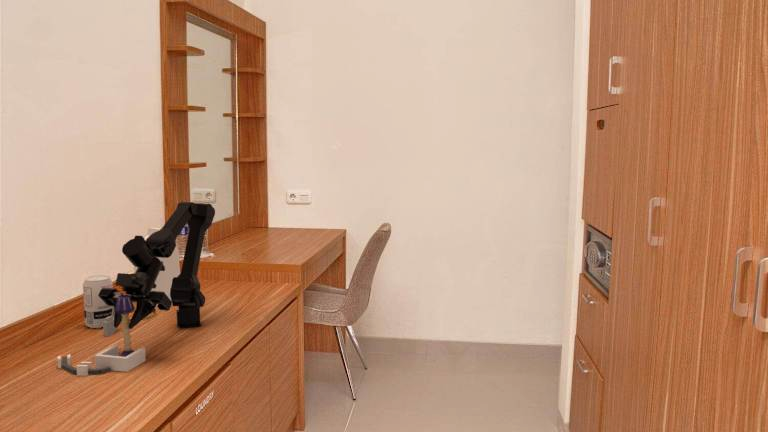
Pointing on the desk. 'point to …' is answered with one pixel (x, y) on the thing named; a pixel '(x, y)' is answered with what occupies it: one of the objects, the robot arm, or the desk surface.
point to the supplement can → (96, 301)
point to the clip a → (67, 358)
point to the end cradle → (119, 359)
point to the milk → (170, 271)
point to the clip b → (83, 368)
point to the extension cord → (146, 317)
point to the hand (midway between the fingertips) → (122, 327)
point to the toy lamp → (125, 320)
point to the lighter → (109, 325)
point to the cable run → (90, 371)
